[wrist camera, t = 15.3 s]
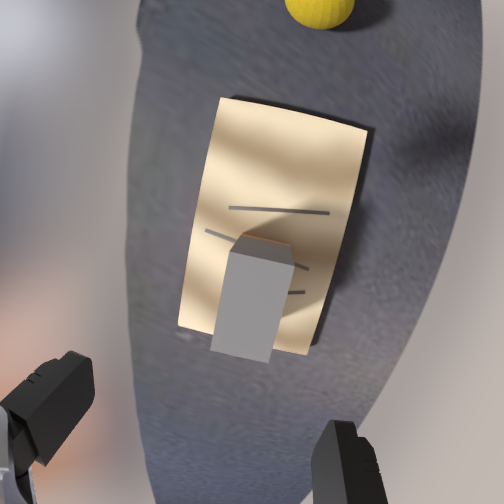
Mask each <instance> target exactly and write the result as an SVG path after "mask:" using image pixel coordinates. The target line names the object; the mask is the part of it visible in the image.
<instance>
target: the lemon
mask: <svg viewBox="0 0 504 504" xmlns="http://www.w3.org/2000/svg"><path fill="white" fill-rule="evenodd" d="M354 2H355V0H285V3H286V7H287V9H288V11H289V12H290V14H291V15H292V16H293V17H294V18H295V19H296V20H297V21H298V22H299V23H301V24H303V25H305V26H307V27H310V28H314V29H329V28H333V27H335V26H338V25H340V24H341V23H342V22H344V21H345V20H346V19H347V18H348V17H349V15H350V13H351V12H352V10H353V7H354Z"/></svg>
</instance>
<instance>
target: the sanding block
mask: <svg viewBox="0 0 504 504" xmlns="http://www.w3.org/2000/svg"><path fill="white" fill-rule="evenodd" d="M294 268H295V264H294V259H293V254H292V249H291V244H287V243H282V242H278V241H273V240H269V239H265V238H260V237H256V236H251V235H247V234H241V235H240V236H239V238H238V239H237V241H236V242H235V244H234V245H233V247H232V248H231V249H230V251H229V255H228V260H227V265H226V270H225V275H224V280H223V285H222V291H221V296H220V301H219V306H218V312H217V317H216V322H215V328H214V333H213V338H212V344H211V349H210V350H213V351H217V352H221V353H225V354H229V355H233V356H237V357H242V358H246V359H251V360H255V361H260V362H265V363H268V362H269V359H270V355H271V352H272V348H273V345H274V341H275V338H276V334H277V331H278V327H279V324H280V320H281V316H282V313H283V309H284V305H285V302H286V298H287V294H288V291H289V287H290V283H291V279H292V275H293V272H294Z"/></svg>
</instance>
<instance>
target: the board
mask: <svg viewBox="0 0 504 504" xmlns="http://www.w3.org/2000/svg"><path fill="white" fill-rule="evenodd" d="M366 136H367V131H365V130H362V129H359V128H355V127H352V126H349V125H345V124H342V123H338V122H335V121H331V120H327V119H323V118H320V117H316V116H312V115H308V114H304V113H299V112H295V111H291V110H286V109H281V108H277V107H272V106H267V105H262V104H256V103H251V102H245V101H239V100H233V99H227V98H221V99H220V103H219V107H218V111H217V115H216V119H215V123H214V128H213V132H212V136H211V141H210V145H209V150H208V154H207V159H206V164H205V169H204V173H203V178H202V183H201V188H200V193H199V198H198V203H197V209H196V214H195V219H194V225H193V230H192V236H191V242H190V248H189V254H188V260H187V266H186V272H185V278H184V285H183V292H182V298H181V305H180V313H179V320H178V325H179V326H183V327H186V328H190V329H194V330H197V331H201V332H205V333H209V334H213V333H214V328H215V322H216V317H217V312H218V306H219V301H220V296H221V291H222V285H223V280H224V275H225V270H226V265H227V260H228V255H229V251H230V249H231V248H232V247H233V245H234V244H235V242H236V241H237V239H238V238H239V236H240V235H241V234H247V235H251V236H256V237H260V238H265V239H269V240H273V241H278V242H282V243H287V244H291V249H292V254H293V259H294V264H295V268H294V272H293V275H292V279H291V283H290V287H289V291H288V294H287V298H286V302H285V305H284V309H283V313H282V316H281V320H280V324H279V327H278V331H277V334H276V338H275V341H274V345H273V349H278V350H283V351H288V352H293V353H298V354H303V355H307V352H308V350H309V347H310V344H311V341H312V338H313V335H314V332H315V329H316V326H317V323H318V320H319V317H320V314H321V311H322V307H323V304H324V301H325V298H326V295H327V291H328V288H329V285H330V282H331V278H332V275H333V271H334V268H335V264H336V261H337V257H338V254H339V250H340V247H341V243H342V239H343V236H344V232H345V228H346V224H347V220H348V216H349V212H350V208H351V204H352V200H353V196H354V192H355V187H356V183H357V179H358V174H359V170H360V165H361V160H362V156H363V151H364V146H365V141H366Z"/></svg>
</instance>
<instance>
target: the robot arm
mask: <svg viewBox="0 0 504 504" xmlns="http://www.w3.org/2000/svg"><path fill="white" fill-rule="evenodd" d="M94 396H95V388H94V378H93V369H92V361H91V359H90V358H88V357H86V356H83V355H81V354H79V353H76V352H74V351H69V352H67V353H66V354H65V355H64V356H63V357H62V358H61V359H60V360H58V359H53V360H50V361H48V362H45V363H43V364H42V365H40V366H39V367H38V368H37V369H36V370H35V371H34V373H31V374H30V375H29V376H28V377H27V379H26V380H24V381H23V382H22V383H20V384H19V385H18V386H17V387H16V388H15V389H14V390H13V391H12V392H11V393H9V394H8V395H7V396H6V397H5V398H4V399H3V400H2V401H1V402H0V504H37V501H36V496H35V490H34V483H33V476H32V469H31V464H32V463H33V462H34V461H37V462H38V463H40V464H42V465H43V466H45V467H46V465H47V464H48V463H49V461H50V460H51V459H52V457H53V456H54V454H55V453H56V452H57V450H58V449H59V448H60V446H61V445H62V444H63V442H64V441H65V440H66V438H67V437H68V436H69V434H70V433H71V431H72V430H73V429H74V428H75V426H76V425H77V424H78V422H79V421H80V420H81V418H82V417H83V416H84V414H85V413H86V412H87V411H88V409H89V408H90V406H91V405H92V403H93V400H94ZM311 470H312V486H313V504H388V501H387V497H386V493H385V489H384V486H383V482H382V477H381V474H380V473H379V471H380V470H379V466H378V463H377V459H376V455H375V452H374V448H373V447H372V446H371V445H370V443H369V442H368V441H367V439H366V438H365V437H358V435H357V431H356V427H355V424H354V422H351V421H340V420H330V421H329V422H328V424H327V425H326V427H325V429H324V431H323V433H322V435H321V437H320V439H319V441H318V442H317V444H316V446H315V448H314V451H313V454H312V459H311Z"/></svg>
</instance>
